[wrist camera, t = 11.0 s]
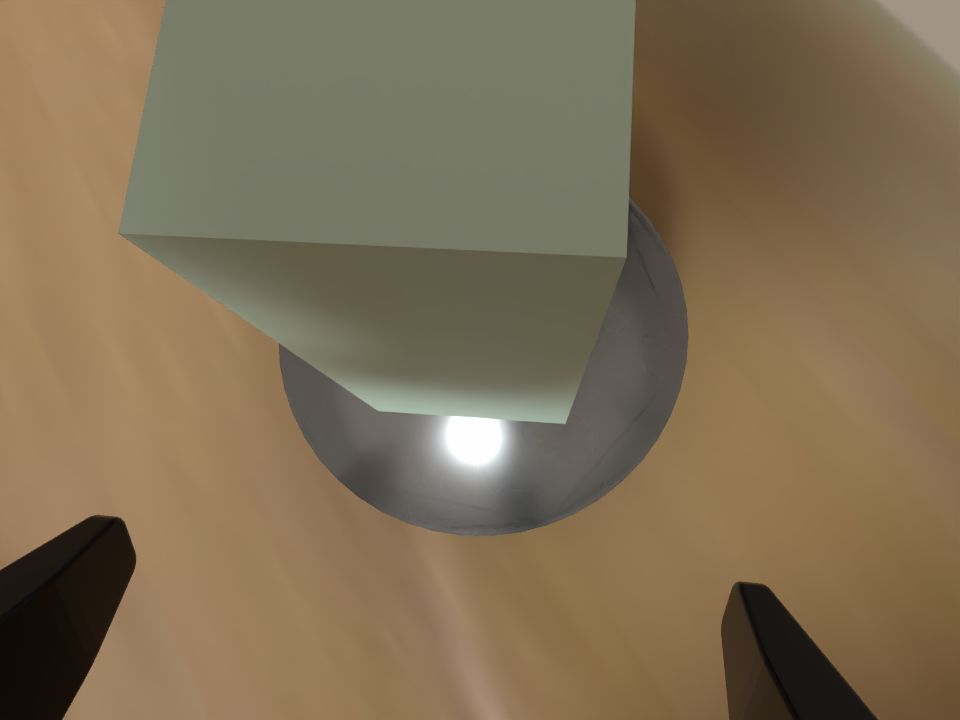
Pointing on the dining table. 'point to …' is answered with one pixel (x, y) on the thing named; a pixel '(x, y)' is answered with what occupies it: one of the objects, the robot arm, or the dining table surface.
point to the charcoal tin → (515, 444)
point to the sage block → (398, 187)
